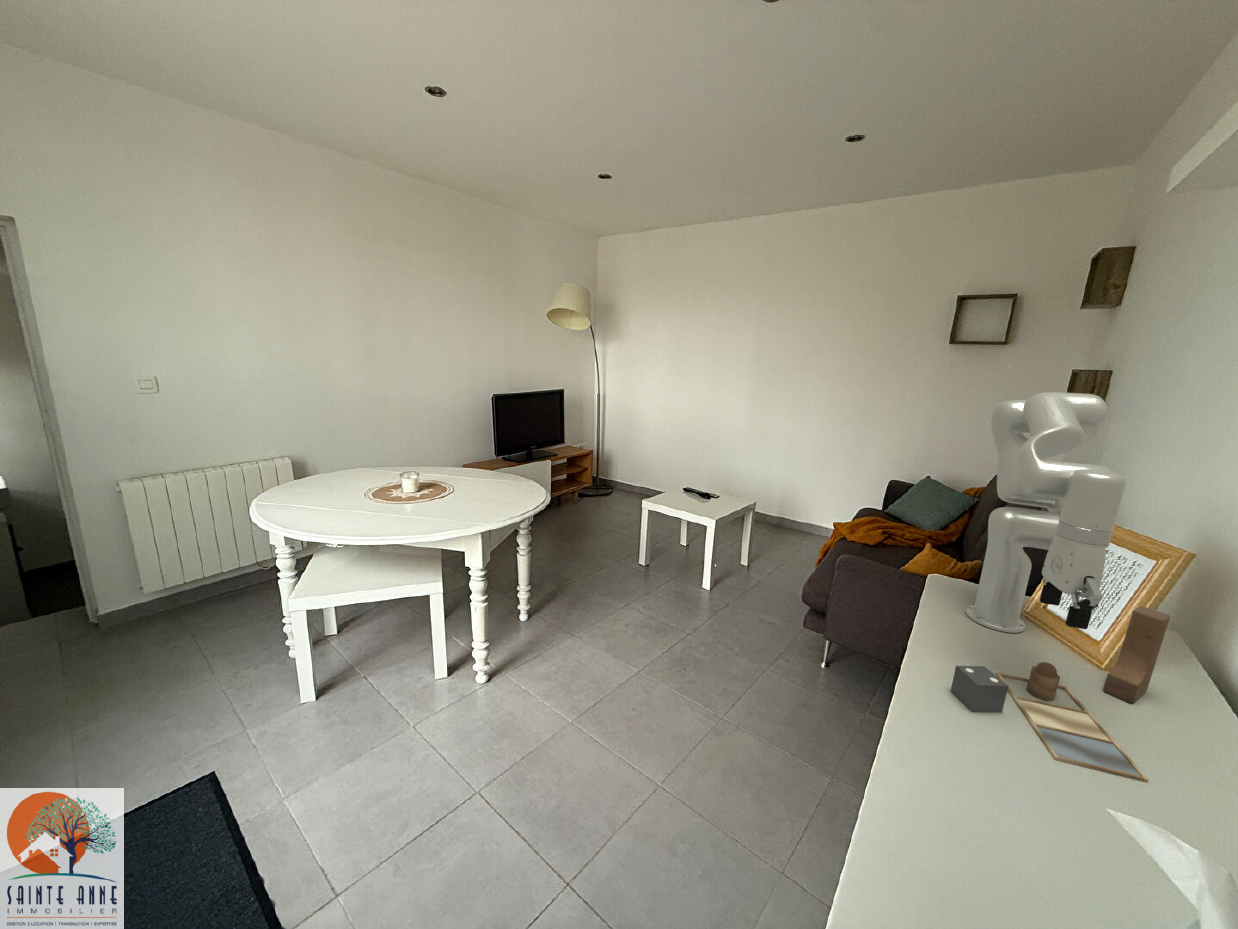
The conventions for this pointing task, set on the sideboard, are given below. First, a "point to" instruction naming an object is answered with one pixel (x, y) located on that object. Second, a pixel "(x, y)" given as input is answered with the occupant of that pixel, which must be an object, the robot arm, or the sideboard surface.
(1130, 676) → the wooden block
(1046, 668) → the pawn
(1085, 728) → the board
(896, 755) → the sideboard surface
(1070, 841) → the sideboard surface
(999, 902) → the sideboard surface
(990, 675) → the die
